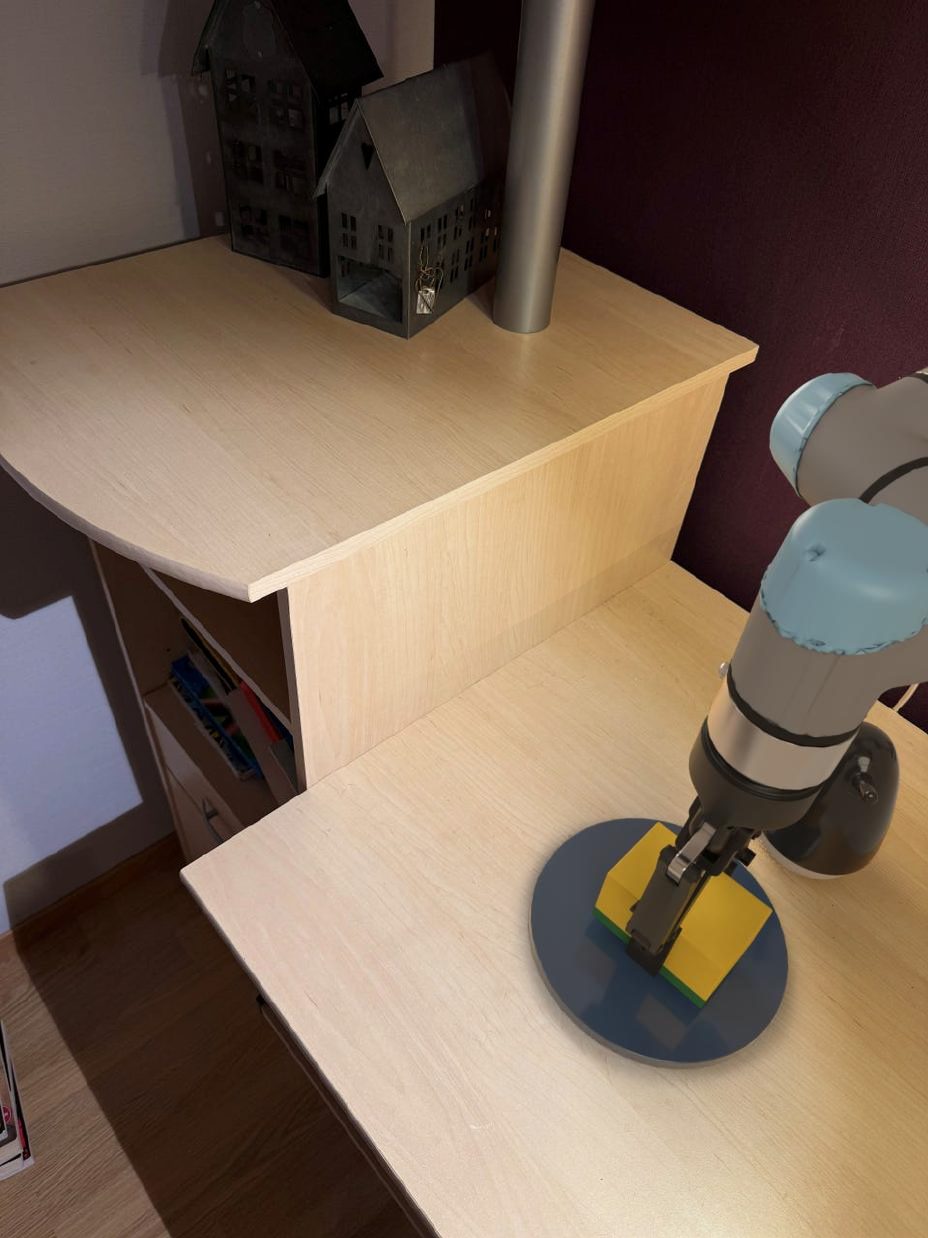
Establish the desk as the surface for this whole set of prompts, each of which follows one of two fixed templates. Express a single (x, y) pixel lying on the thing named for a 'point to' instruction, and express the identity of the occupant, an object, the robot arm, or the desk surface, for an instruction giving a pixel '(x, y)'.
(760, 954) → the plate
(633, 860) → the sponge
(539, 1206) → the desk surface
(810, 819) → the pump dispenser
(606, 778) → the desk surface
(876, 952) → the desk surface
